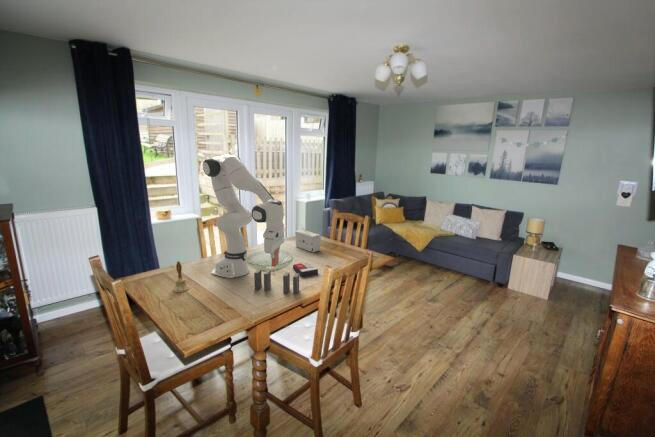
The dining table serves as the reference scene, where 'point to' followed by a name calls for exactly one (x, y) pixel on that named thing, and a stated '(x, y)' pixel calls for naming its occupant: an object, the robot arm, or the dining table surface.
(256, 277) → the domino
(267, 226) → the robot arm
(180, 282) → the hand bell
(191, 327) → the dining table surface
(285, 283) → the domino
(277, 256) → the domino
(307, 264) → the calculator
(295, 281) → the domino
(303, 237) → the stereo radio cassette player
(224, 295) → the dining table surface
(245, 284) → the dining table surface
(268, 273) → the domino
